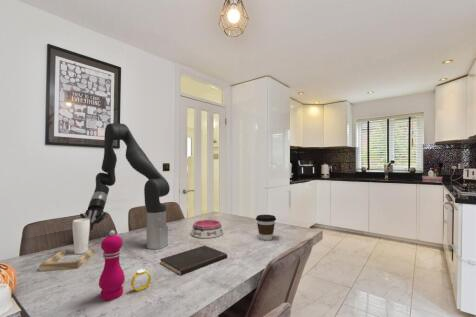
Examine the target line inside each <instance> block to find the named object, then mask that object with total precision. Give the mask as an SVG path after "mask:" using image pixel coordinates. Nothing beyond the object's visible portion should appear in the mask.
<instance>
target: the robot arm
mask: <svg viewBox="0 0 476 317" xmlns="http://www.w3.org/2000/svg"><path fill="white" fill-rule="evenodd" d="M103 138H104V141H103V142H104V144H103V149H104V150H103V151H104V152H103V158H102V162H101V163H102V164H101V167H100V168H101V171H102V172H99V173H97V174H96V175H95V189H94V192H93V194H92V196H91V198H90V200H89V203H88V207H87V210H85V212H84V213H79V216H80V217H81V218H80V219H90V231H89V232H91V231H92V230H94V226H95V225H96V224H97V225H98V224H99V223H101V222H102V221H104V219H105V218H107V217H108V215H107V212H104V209H105V207H106V204H107V201H108V195H109V192H110V188H109V187H112V186H114V185H115V183H116V179H117V178H116V167H117V166H116V165H117V161H118V159H117V158H118V157H117V154H116V153H115V150H114V148H113V145H114V144H113V143H114V141H122V142H123V143H124V144H125V146H126V150H125V159H126V160H127V162H128V163H129V165H130V166H131V167H132V169H133V170H135V171H136V172H138V173H139V174H141V175H143V177H145V178H147V180H146V182H145V184H144V187H143V188H144V189H143V193H144V194H143V195H144V197H143V198H144V206H145V209H146V248H147V249H149V250H157V249H158V250H160V249H161V250H162V249H163V248H165V247H167V246H169V226H168V225H167V206H166V204H163V203H161V201H160V198H161V197H166V196H168V194H169V193H170V191H171V189H170V184H169V182H168V181H167V179H166V177H164V176H163V174H161V173H160V171H159V170H158V169H157V168H156V167H155V165H154V164H153V162H151V160H150V159H149V157H148V156H147V154H146V153H145V152H144V150H143V149H142V148H141V146H140V145H139V143H138V142H137V141H136V139H135V137H134V136H133V134H132V132H131V130H130V128H129V127H128V126H127V125H126V124H125V123H117V122H116V123H113V122H112V123H108V124H107V125H106V126H105V129H104V137H103ZM86 217H87V218H86Z"/></svg>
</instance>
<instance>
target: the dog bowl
mask: <svg viewBox="0 0 476 317" xmlns="http://www.w3.org/2000/svg"><path fill="white" fill-rule="evenodd" d="M223 235H224V231H223V227H222V224H221V222H220V220H215V219H201V220H196V221H195V222H193V225H192V229H191V233H190V236H191V238H195V239H201V240H202V239H203V240H207V239H208V240H209V239H216V238H219V237H222V236H223Z"/></svg>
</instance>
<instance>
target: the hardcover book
mask: <svg viewBox="0 0 476 317" xmlns="http://www.w3.org/2000/svg"><path fill="white" fill-rule="evenodd" d="M226 259H228V254H227V252H224V251H221V250H218V249H215V248H213V247H210V246H207V245H201V246H199V247H195V248H192V249H189V250H186V251H185V250H184V251H182V252H179V253H175V254H172V255H170V256H169V255H168V256H165V257H162V258H160V259H159V261H160V264H161V265H163V266H164V267H166V268H167V269H169V270H172V271H173V272H175V273H177V274H179V275H180V276H183V275H187V274H189V273H191V272H192V273H193V272H194V271H197V270H199V269H203V268H204V267H207V266H210V265H213V264H215V263H219V262H221V261H223V260H226Z"/></svg>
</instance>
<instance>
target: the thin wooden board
mask: <svg viewBox="0 0 476 317" xmlns="http://www.w3.org/2000/svg"><path fill="white" fill-rule="evenodd" d="M95 253H96V252H95V247H91V248H90V249H88V251H87V252H86V253H83V254H82V256H81V257H79V258H77V260H76V261H75V260H74V261H63V262H58V261H59V260H60V259H62V258H63V257H65V256H66V249H62V250H60V251H58V252H57V253H55V254H54V255H52V256H51V257H49V258H48V259H46V260H45V261H44V262H42V263H40V264H39V268H38V269H39V272H47V271H48V272H49V271H60V270H75V269H79V268H80V267H82V265H84V264H85V263H86V262H87V261H88V260H90V258H91V257H93V256H94V254H95Z"/></svg>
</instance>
